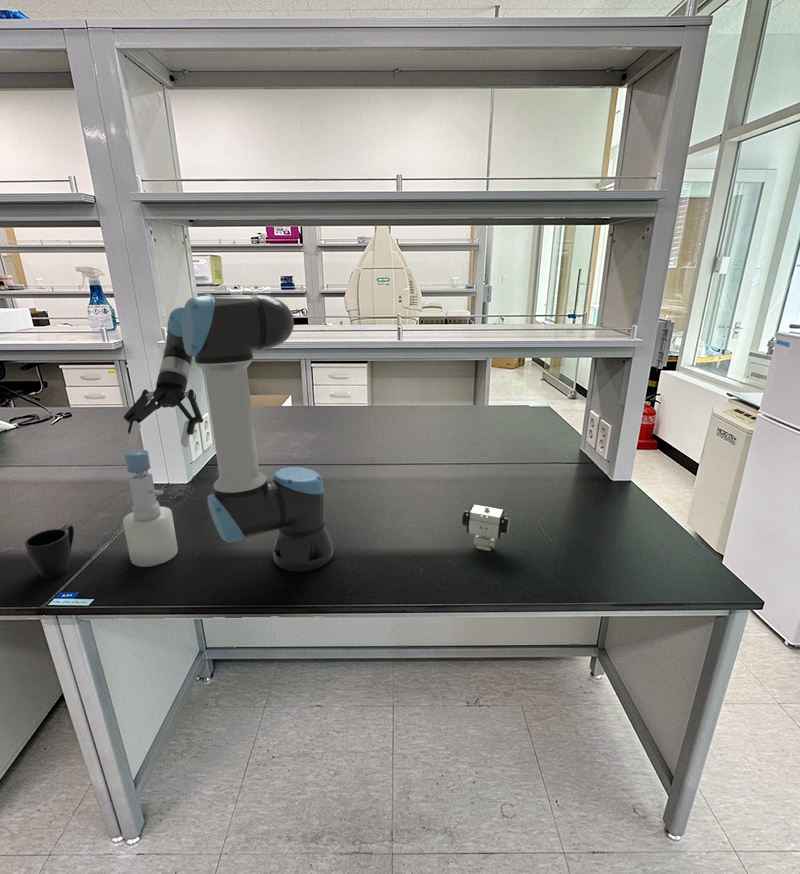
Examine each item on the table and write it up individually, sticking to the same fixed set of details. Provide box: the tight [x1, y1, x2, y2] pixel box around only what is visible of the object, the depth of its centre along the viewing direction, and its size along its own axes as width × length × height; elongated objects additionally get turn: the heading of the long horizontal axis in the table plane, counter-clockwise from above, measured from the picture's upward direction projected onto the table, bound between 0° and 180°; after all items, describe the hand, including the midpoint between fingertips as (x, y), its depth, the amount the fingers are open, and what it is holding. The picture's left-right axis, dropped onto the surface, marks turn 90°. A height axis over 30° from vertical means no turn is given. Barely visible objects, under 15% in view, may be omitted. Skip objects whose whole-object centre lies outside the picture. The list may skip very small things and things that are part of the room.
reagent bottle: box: [122, 472, 179, 568], centre depth 122 cm, size 11×11×22 cm
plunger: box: [123, 449, 151, 479], centre depth 118 cm, size 5×5×13 cm
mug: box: [24, 524, 75, 580], centre depth 118 cm, size 8×12×10 cm
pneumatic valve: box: [461, 504, 511, 552], centre depth 127 cm, size 6×12×12 cm, turn 69°
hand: (157, 445), depth 127 cm, fingers open, 13 cm apart
